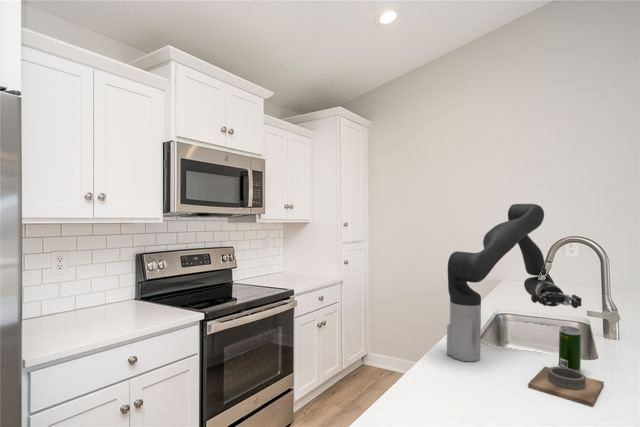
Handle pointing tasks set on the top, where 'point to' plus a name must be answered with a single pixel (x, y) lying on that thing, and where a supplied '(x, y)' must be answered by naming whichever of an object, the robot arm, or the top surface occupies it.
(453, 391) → the top surface
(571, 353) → the beer can
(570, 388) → the can holder
